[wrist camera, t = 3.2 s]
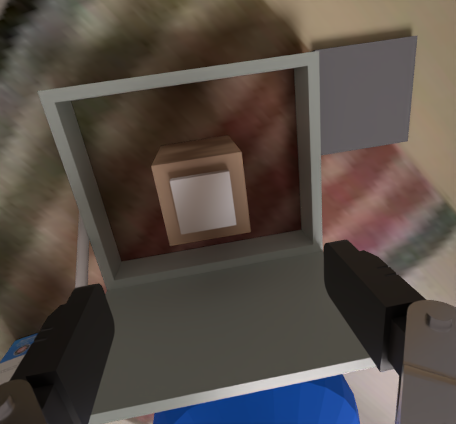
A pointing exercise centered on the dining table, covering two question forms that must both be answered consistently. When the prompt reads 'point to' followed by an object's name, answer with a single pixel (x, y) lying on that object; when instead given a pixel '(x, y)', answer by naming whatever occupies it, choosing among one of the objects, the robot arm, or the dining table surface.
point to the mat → (366, 94)
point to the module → (201, 190)
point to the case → (210, 278)
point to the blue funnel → (275, 406)
